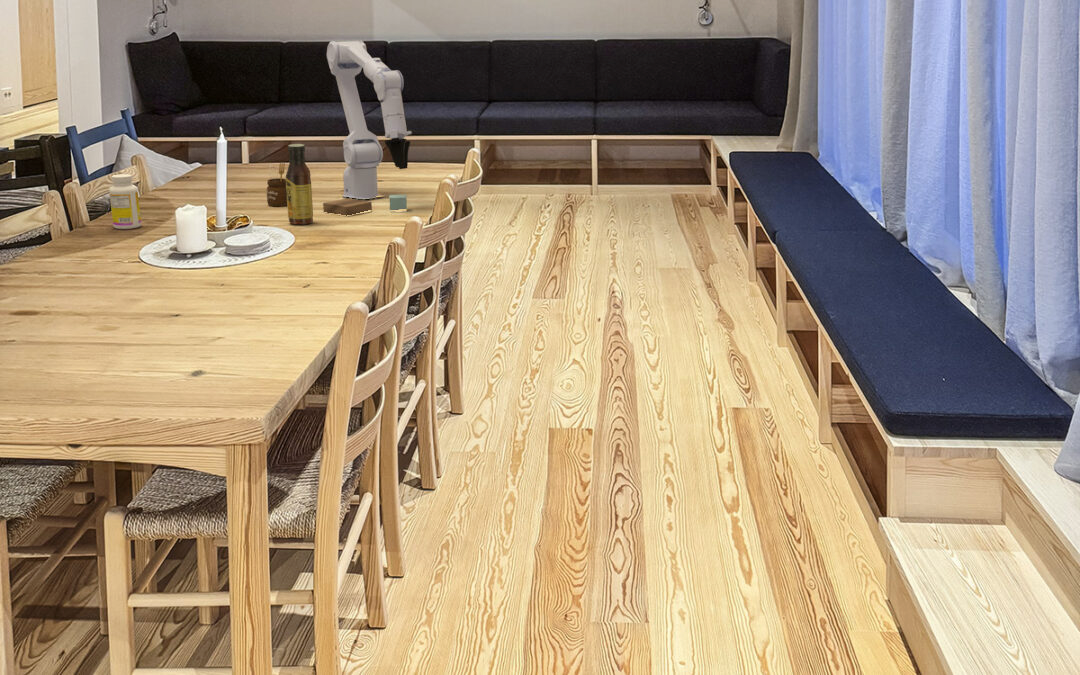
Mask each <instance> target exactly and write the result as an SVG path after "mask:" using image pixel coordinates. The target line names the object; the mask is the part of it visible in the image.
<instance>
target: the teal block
mask: <svg viewBox="0 0 1080 675" xmlns="http://www.w3.org/2000/svg"><path fill="white" fill-rule="evenodd" d="M388 198H389V211H390V210H399V209H407V210H408V202H407V201H408V200H407V194H389V196H388Z"/></svg>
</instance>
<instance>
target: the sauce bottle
mask: <svg viewBox="0 0 1080 675" xmlns="http://www.w3.org/2000/svg"><path fill="white" fill-rule="evenodd" d="M305 147H306V146H305V144H304V143H303V144H302V143H292V144H288V146H287V150H288V154H289V164H288V168H287V170H286V174H285V179H286V193H287V217H288V222H289V223H290V224H291V225H296V226H297V225H300V226H301V225H302V226H303V225H309V224H312V223H313V221H314V208H313V207H314V206H313V191H312V190H313V189H312V181H311V170H310V168H309V167H308V165H307V164H306V159H305V158H306V157H305V152H306V148H305Z"/></svg>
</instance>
